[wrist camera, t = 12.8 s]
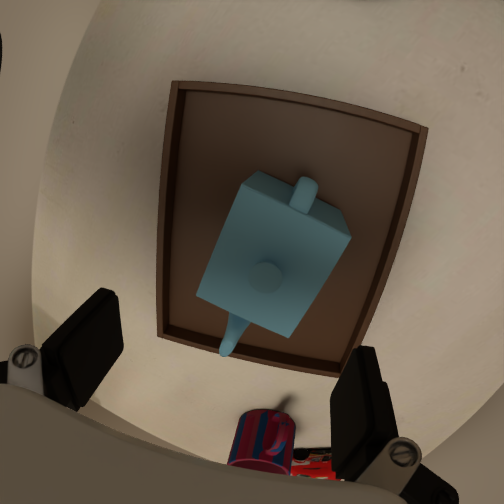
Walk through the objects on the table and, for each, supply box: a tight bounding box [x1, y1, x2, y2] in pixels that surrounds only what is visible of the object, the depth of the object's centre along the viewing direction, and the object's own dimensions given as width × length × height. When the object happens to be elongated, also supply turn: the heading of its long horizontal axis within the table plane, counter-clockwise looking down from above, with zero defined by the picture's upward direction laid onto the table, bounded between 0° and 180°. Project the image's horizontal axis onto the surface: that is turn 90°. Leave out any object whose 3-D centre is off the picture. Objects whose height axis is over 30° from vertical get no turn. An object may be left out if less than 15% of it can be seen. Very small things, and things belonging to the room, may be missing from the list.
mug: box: [227, 410, 296, 476], centre depth 28 cm, size 7×10×7 cm
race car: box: [290, 449, 341, 481], centre depth 31 cm, size 13×5×4 cm, turn 97°
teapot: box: [196, 170, 352, 357], centre depth 19 cm, size 12×6×8 cm, turn 156°
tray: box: [156, 81, 428, 378], centre depth 22 cm, size 17×21×2 cm
